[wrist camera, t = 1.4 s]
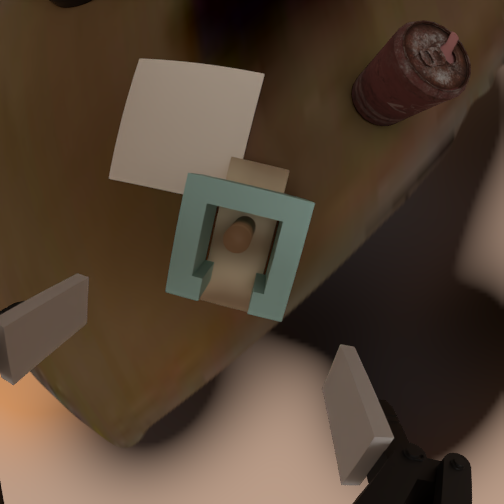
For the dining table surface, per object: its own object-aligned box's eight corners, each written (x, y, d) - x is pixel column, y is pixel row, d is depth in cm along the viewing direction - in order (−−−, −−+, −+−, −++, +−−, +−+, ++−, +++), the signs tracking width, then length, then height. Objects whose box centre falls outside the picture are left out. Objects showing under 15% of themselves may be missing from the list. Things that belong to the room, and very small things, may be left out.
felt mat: (140, 59, 29) (139, 58, 29) (264, 74, 29) (264, 73, 28) (109, 178, 32) (108, 178, 32) (231, 205, 32) (231, 205, 32)
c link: (203, 174, 26) (187, 172, 22) (307, 199, 26) (314, 203, 21) (182, 273, 28) (165, 291, 24) (280, 298, 28) (281, 321, 23)
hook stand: (237, 160, 31) (218, 148, 20) (286, 172, 31) (295, 166, 20) (209, 283, 34) (180, 330, 22) (255, 294, 34) (247, 348, 22)
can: (413, 92, 28) (484, 52, 14) (389, 137, 29) (460, 113, 16) (366, 61, 28) (416, -1, 14) (340, 105, 29) (385, 56, 15)
